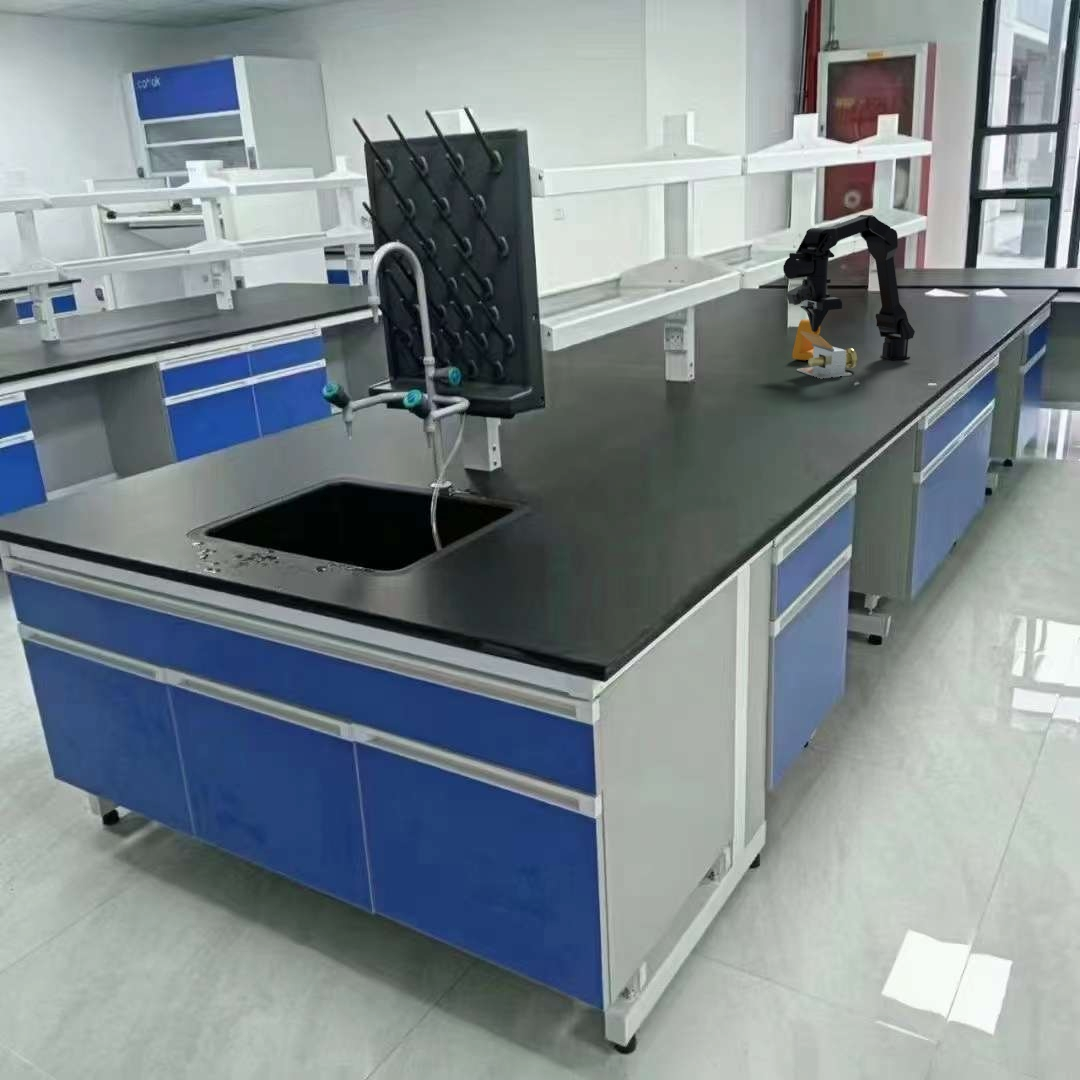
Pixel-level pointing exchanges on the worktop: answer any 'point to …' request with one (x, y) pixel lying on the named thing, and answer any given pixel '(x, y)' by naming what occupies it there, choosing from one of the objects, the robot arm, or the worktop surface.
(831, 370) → the hitch block
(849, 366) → the pin
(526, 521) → the worktop surface
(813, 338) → the tan flat plate
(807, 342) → the bracket
